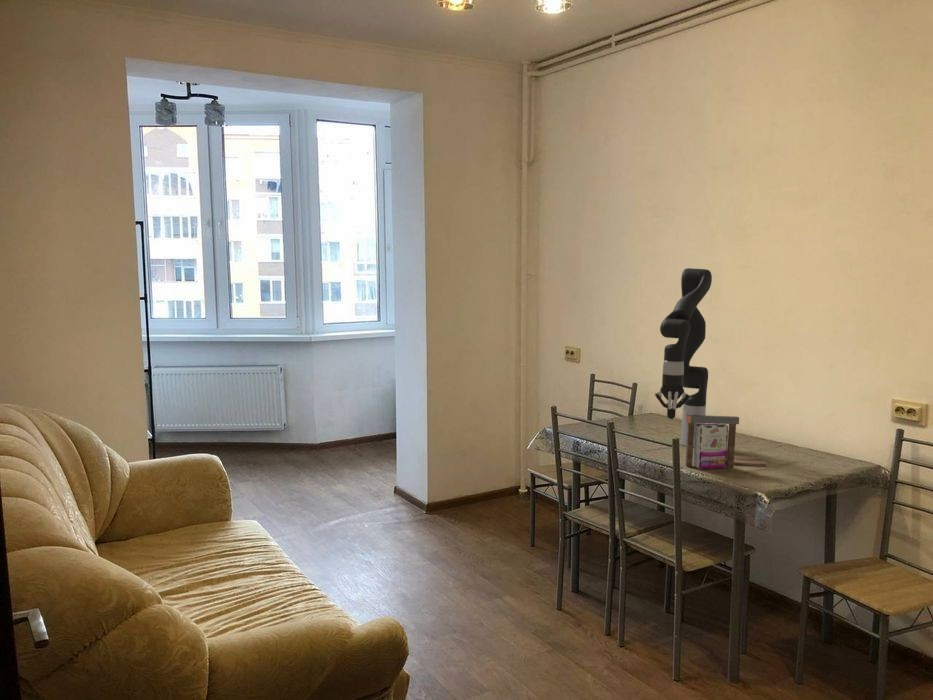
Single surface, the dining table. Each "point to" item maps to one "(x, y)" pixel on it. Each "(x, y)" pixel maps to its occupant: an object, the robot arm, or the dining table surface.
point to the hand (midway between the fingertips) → (670, 418)
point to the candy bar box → (710, 446)
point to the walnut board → (748, 460)
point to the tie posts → (729, 451)
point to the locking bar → (711, 419)
